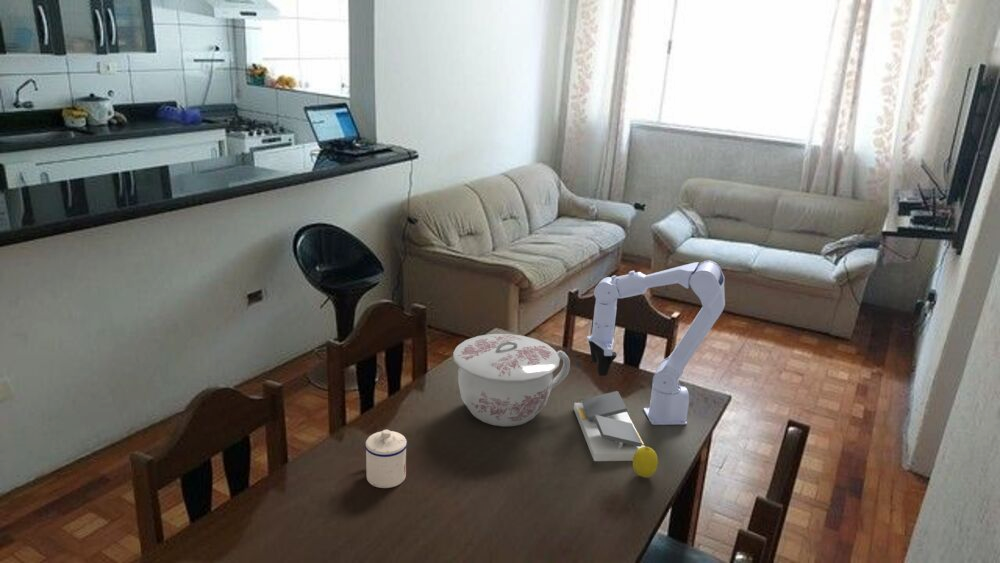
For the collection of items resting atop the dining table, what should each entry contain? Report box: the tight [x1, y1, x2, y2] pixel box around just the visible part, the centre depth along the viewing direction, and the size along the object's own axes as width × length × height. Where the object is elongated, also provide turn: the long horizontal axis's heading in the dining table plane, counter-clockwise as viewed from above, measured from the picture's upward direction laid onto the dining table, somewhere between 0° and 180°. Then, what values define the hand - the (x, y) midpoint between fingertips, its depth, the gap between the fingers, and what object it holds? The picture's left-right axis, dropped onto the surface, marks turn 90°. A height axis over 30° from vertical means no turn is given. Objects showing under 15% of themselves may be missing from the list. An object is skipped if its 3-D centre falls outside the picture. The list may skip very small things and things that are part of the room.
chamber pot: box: [452, 333, 571, 427], centre depth 180 cm, size 28×27×21 cm
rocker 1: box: [580, 390, 628, 421], centre depth 181 cm, size 10×10×2 cm
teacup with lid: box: [364, 429, 408, 489], centre depth 154 cm, size 12×9×12 cm
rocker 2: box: [594, 415, 642, 447], centre depth 169 cm, size 10×10×2 cm
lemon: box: [632, 446, 659, 478], centre depth 158 cm, size 6×6×8 cm
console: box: [573, 402, 646, 462], centre depth 176 cm, size 13×24×3 cm, turn 6°
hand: (599, 368), depth 189 cm, fingers open, 7 cm apart
